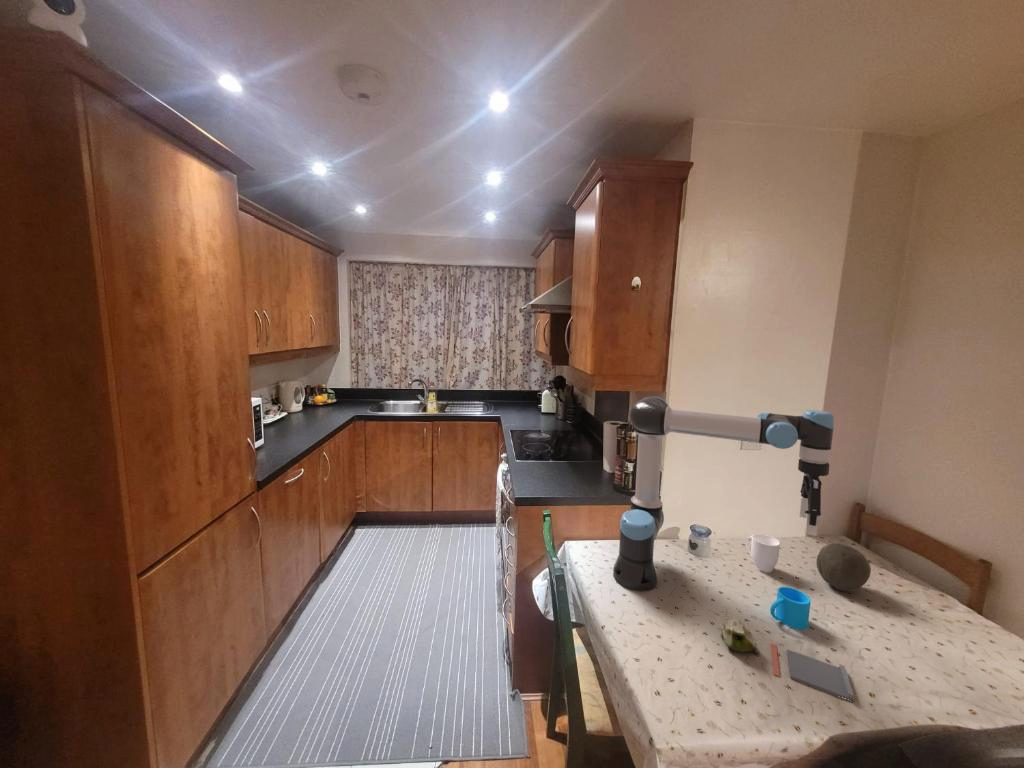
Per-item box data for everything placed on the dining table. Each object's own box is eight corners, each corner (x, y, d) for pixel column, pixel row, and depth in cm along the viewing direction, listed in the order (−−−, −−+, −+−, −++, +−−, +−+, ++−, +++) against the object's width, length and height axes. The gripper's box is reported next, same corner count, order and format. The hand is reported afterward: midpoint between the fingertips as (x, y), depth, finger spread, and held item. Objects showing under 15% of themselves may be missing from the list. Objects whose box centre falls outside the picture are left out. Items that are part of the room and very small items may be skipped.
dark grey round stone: (864, 606, 123) (870, 563, 122) (810, 585, 134) (814, 545, 132) (870, 588, 132) (874, 548, 131) (819, 570, 143) (823, 532, 141)
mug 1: (783, 572, 141) (785, 542, 139) (766, 578, 138) (769, 547, 136) (753, 556, 152) (755, 528, 150) (737, 560, 149) (739, 532, 147)
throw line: (773, 674, 96) (773, 673, 96) (771, 643, 107) (771, 642, 107) (779, 677, 96) (779, 675, 96) (776, 645, 106) (776, 644, 106)
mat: (790, 678, 95) (791, 672, 95) (786, 651, 104) (787, 645, 104) (853, 702, 89) (854, 695, 89) (843, 672, 98) (844, 665, 97)
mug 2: (790, 609, 121) (792, 585, 120) (814, 627, 113) (817, 602, 112) (758, 613, 119) (760, 589, 118) (781, 633, 111) (784, 607, 110)
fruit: (745, 668, 100) (741, 640, 99) (714, 645, 108) (710, 620, 108) (767, 651, 103) (763, 624, 103) (735, 630, 112) (731, 605, 111)
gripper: (838, 473, 104) (830, 546, 106) (822, 453, 125) (816, 513, 128) (804, 468, 108) (797, 538, 110) (794, 449, 129) (788, 508, 131)
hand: (807, 525), depth 119 cm, fingers open, 13 cm apart
